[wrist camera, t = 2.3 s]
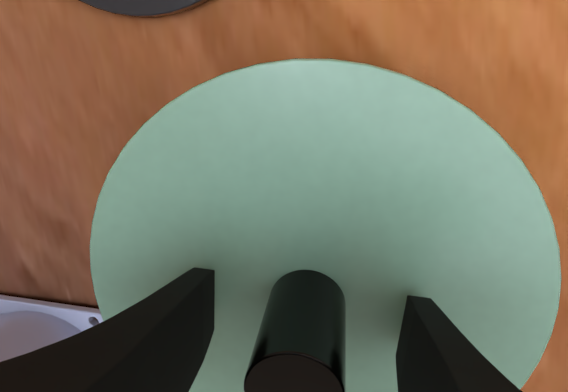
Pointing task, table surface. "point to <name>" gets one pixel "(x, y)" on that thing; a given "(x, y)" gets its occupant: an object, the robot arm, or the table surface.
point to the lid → (328, 225)
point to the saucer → (144, 6)
